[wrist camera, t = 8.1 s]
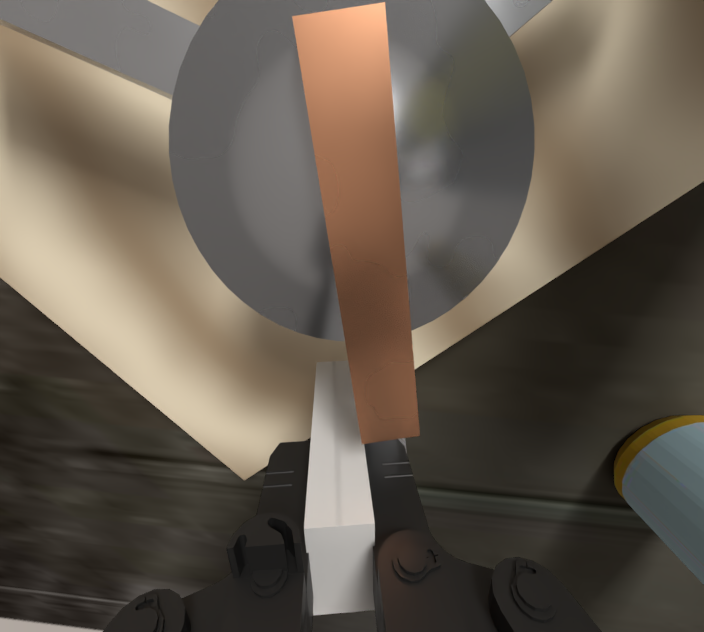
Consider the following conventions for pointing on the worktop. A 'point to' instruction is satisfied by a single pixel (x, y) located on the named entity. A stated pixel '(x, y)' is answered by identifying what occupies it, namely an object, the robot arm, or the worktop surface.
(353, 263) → the capstan
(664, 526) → the bottle
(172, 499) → the worktop surface
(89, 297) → the stand
